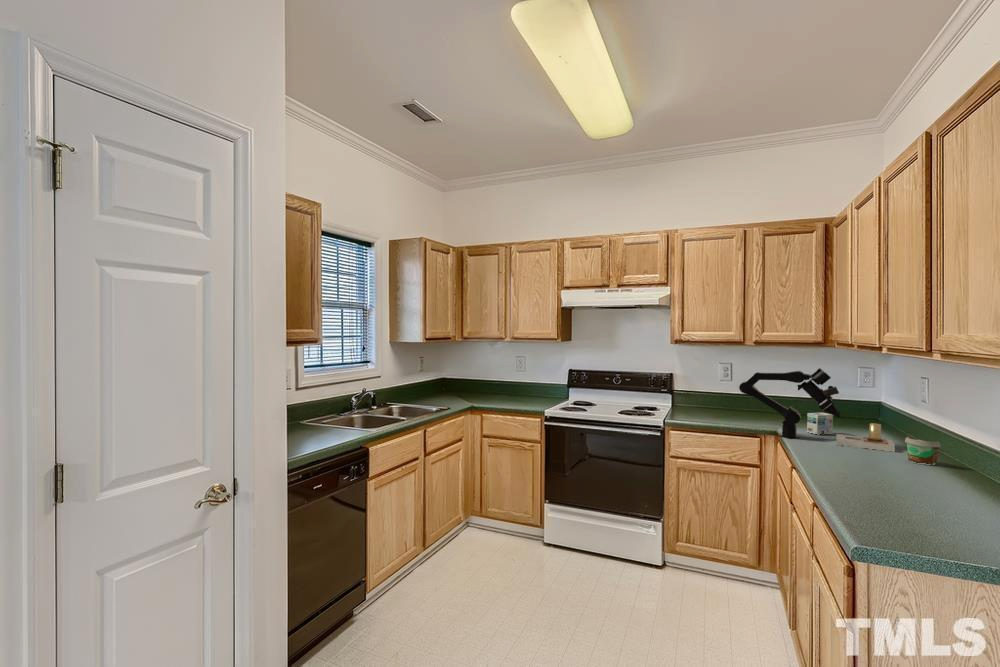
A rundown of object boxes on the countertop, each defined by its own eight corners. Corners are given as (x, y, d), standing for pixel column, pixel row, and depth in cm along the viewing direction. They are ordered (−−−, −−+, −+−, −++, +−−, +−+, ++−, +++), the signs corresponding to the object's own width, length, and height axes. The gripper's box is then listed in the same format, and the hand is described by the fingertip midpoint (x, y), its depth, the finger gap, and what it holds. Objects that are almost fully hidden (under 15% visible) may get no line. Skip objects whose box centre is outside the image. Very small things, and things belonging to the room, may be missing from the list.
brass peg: (877, 448, 234) (877, 425, 234) (867, 446, 238) (867, 423, 238) (882, 447, 236) (883, 424, 236) (872, 445, 240) (873, 422, 240)
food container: (897, 459, 214) (898, 436, 214) (906, 458, 217) (907, 435, 217) (930, 467, 203) (931, 443, 203) (940, 466, 205) (940, 442, 205)
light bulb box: (817, 435, 262) (817, 415, 262) (806, 432, 268) (806, 412, 268) (833, 434, 265) (833, 414, 264) (821, 431, 271) (822, 412, 271)
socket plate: (836, 445, 240) (836, 438, 240) (836, 439, 252) (836, 433, 252) (894, 452, 228) (894, 444, 228) (891, 446, 240) (891, 439, 239)
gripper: (827, 382, 240) (855, 407, 234) (827, 379, 255) (853, 402, 249) (808, 397, 244) (834, 422, 238) (809, 393, 260) (834, 416, 254)
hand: (839, 415), depth 245 cm, fingers open, 9 cm apart
